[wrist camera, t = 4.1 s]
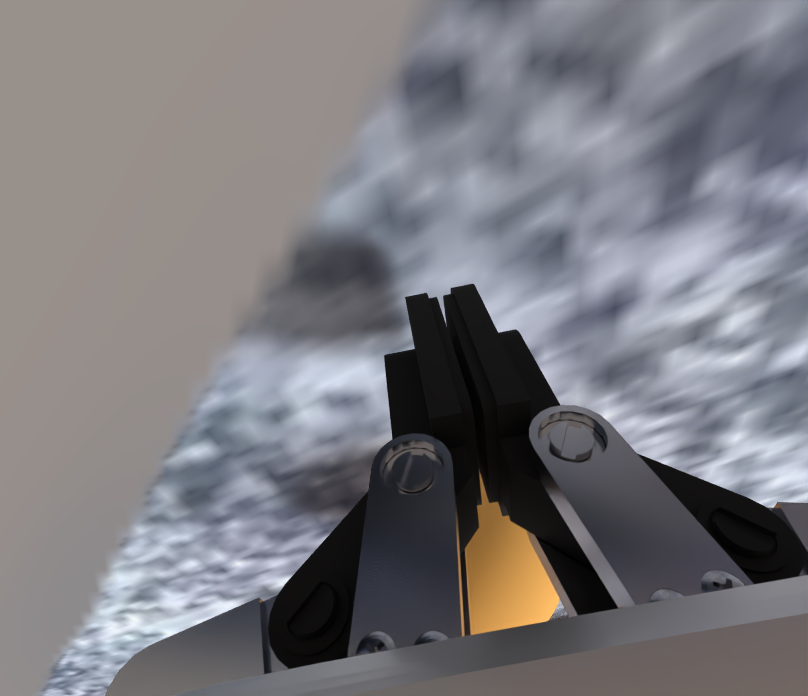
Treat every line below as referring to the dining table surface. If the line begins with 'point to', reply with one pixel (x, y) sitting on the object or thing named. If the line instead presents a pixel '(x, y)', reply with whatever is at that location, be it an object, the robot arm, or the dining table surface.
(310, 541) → the dining table surface
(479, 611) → the ball
